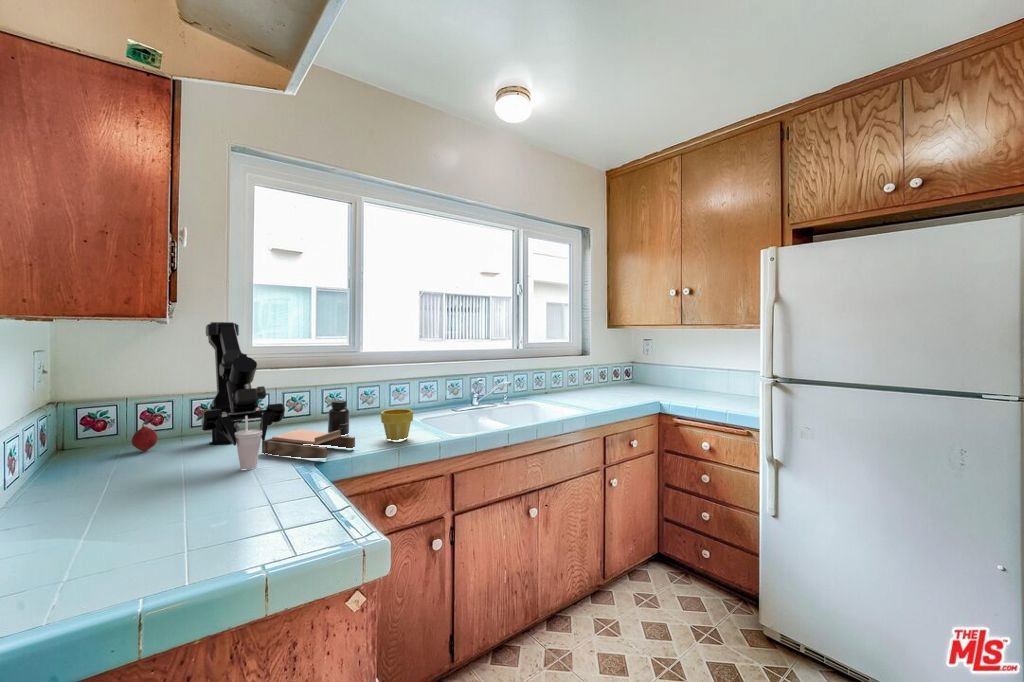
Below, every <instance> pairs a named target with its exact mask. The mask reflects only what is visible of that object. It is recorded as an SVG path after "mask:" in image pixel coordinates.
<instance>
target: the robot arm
mask: <svg viewBox="0 0 1024 682" xmlns="http://www.w3.org/2000/svg"><path fill="white" fill-rule="evenodd" d="M239 327H240V326H239V324H237V323H235V322H230V321H228V322H226V321H225V322H223V321H221V322H219V321H211V322H210V323H209V324H207V325H205V336H206V337H208V339H207V340H208V344H210V346H211V347H212V348H213V349H214V355H215V357H214V359H215V361H214V362H215V376H216V377H215V378H216V379H215V380H216V394H215V396H214V397H213V399H212V401H211V406H209V409H207V410H206V409H205V410H204V411H203V412H202V418H201V430H202V431H211V442H209V445H225V444H224V443H232V445H233V446H234V447H235V446H237V443H236V437H235V434H234V433H235V432H237V431H240V425H239V424H238V423H242V422H243V421H245V416H248V420H253V419H260V424H259V429H260V430H262V435H261V442H262V441H265V440H266V435H267V431H268V426H271V425H272V424H273V423H280V422H281V421H283V418H284V414H285V410H286V408H285V405H284V404H283V403H281V402H278V403H271V404H270V403H268V404H267V405H266V408H265V409H262V410H261V409H259V410H257V408H258V406H259V402H258V401H259V400H264V399H265V398H266V396H267V393H266V388H265V385H264V386H263V385H262V386H257V387H256V388H255V387H254V388H252V385H251V383H253V381H254V377H255V374H256V372H257V366H258V362H257V361H256V360H255V359H253V358H251V357H250V356H248V354H247V353H243V352H242V350H241V345H240V343H239V338H238V336H239V334H240V333H239V332H240V331H239V330H240V328H239Z"/></svg>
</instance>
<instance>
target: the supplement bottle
mask: <svg viewBox="0 0 1024 682" xmlns="http://www.w3.org/2000/svg"><path fill="white" fill-rule="evenodd" d="M327 415H328V416H327V433H331V432H334V431H337V430H341V435H345V434H348V433H349V434H350V410H349V409H348V408H347V400H332V401H331V409H329V411H328V414H327Z"/></svg>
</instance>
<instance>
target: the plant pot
mask: <svg viewBox="0 0 1024 682" xmlns="http://www.w3.org/2000/svg"><path fill="white" fill-rule="evenodd" d="M413 418H414V412H413V410H412V409H408V408H393V409H392V408H391V409H386V410H383V411H381V412H380V419H381V421H380V422H381V423H382V425H383V427H384V432H385V436H386V437H385V438H386V440H387V439H391V440H399V439H404V438H407V437H409V434H410V428H411V423H412V421H414V419H413Z"/></svg>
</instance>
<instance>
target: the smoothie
mask: <svg viewBox="0 0 1024 682" xmlns="http://www.w3.org/2000/svg"><path fill="white" fill-rule="evenodd" d="M248 420H249V419H248V416H245V420H244V429H243V430H239V431H237V432H235V433H234V434H235V437H236V449H237V455H238V461H239V469H240V470H241V469H251V470H253V469H252V468H255V467H256V466H257V467H258V460H259V459H258V458H259V453H260V447H261V446H260V445H261V441H262V438H261V435H262V430H260V428H249V427H248V426H249V424H248V422H249V421H248ZM248 428H249V429H248ZM257 467H256V468H257ZM256 468H255V469H256Z"/></svg>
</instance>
